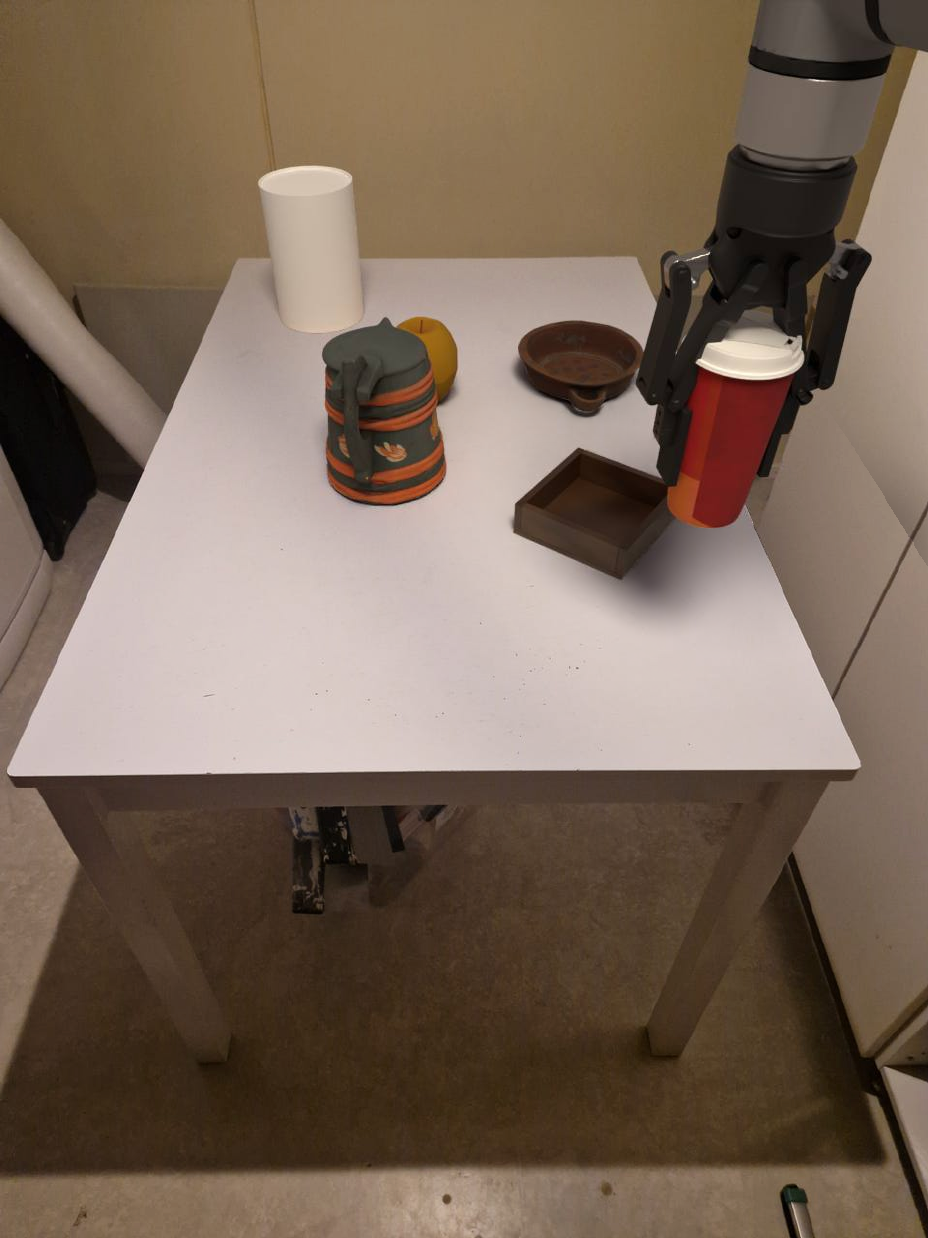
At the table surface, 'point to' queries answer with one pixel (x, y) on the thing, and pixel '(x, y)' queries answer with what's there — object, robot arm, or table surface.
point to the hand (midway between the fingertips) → (711, 471)
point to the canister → (313, 247)
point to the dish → (580, 361)
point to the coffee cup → (733, 418)
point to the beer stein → (381, 416)
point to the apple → (436, 350)
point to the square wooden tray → (595, 512)
